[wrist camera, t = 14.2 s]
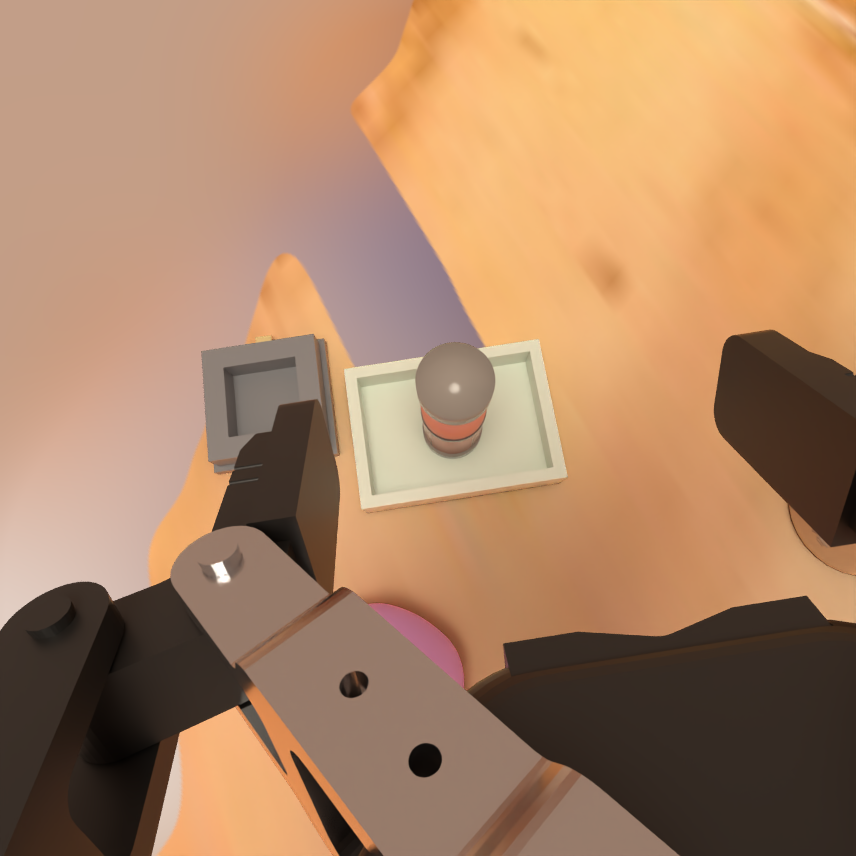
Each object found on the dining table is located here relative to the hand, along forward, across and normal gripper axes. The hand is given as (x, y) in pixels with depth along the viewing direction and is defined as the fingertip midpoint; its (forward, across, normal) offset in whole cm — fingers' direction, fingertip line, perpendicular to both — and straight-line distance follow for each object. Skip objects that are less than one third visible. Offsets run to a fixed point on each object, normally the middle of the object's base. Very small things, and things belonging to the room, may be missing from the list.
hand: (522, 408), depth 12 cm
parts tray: (+26, 0, +17) cm, 31 cm away
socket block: (+29, +13, +14) cm, 35 cm away
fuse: (+26, 0, +16) cm, 31 cm away
